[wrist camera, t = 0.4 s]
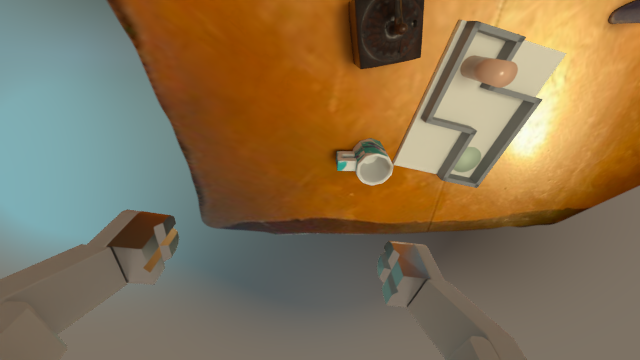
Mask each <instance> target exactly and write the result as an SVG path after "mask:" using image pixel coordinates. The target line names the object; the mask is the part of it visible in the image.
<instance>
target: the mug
mask: <svg viewBox="0 0 640 360" xmlns="http://www.w3.org/2000/svg"><path fill="white" fill-rule="evenodd" d="M336 164H337V171H356V174H357V176H358V177H359V179H360V180H361V182H362V183H365V184H369V185H376V184H381V183H384V182H385V181H386V180H387V179H388V178H389V177H390V176H391V175H392V170H393V166H394V165H393V164H392V162H391V160H390V158H389V156H388V155H387V153H386V151H385V149H384V148H383V146H382V144H381V142H380V141H377V140H374V139H372V138H369V139H365V140H362V141H360V142H359V143H358V144H357V145H356V146H355V147H354V148H353V151H337V153H336Z"/></svg>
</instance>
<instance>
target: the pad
mask: <svg viewBox="0 0 640 360" xmlns="http://www.w3.org/2000/svg"><path fill="white" fill-rule="evenodd" d="M480 159H481V152H480V151H479V150H478V149H477V148H475V147H467V148H466V150H465V151H464V153H463V154H462V156H461V157H460V159H459V161H458V162H457V164H456V165H455V167H454V168H453V169H454V170H455V171H457V172H467V171H469V170H471V169H473V168H474V167H476V166H477V165H478V163H479V162H480Z"/></svg>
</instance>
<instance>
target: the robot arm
mask: <svg viewBox="0 0 640 360" xmlns="http://www.w3.org/2000/svg"><path fill="white" fill-rule="evenodd" d="M175 224H176V222H175V218H174V216H171V215H164V214H157V213H150V212H143V211H134V210H125V211H122V212H121V213H120V214H119V215H118V216H117V217H116V218H115V219H114V220H112V221H111V223H109V224H108V225H107V226H106V227H105V228H104V229H103V230H102V231H101V232H100V233H99V234H97V236H95V237H94V238H93V239H92V240H91V241H90V242H89V243H88V244H87V245H83V244H81V245H79V246H76V247H74V248H72V249H69V250H67V251H65V252H62V253H60V254H58V255H56V256H53V257H51V258H49V259H46V260H44V261H42V262H40V263H37V264H35V265H32V266H30V267H28V268H26V269H23V270H21V271H19V272H16V273H14V274H12V275H9V276H7V277H5V278H2V279H0V360H60V359H61V357H62V356H63V355H64V353H65V352H66V351H67V345H66V344H65V343H64V341H63V340H62V339H61V338H60V337H59V336H58V334H59V333H60V332H62V331H63V330H65V329H66V328H67V327H69V326H70V325H71V324H73V323H74V322H76V321H77V320H78V319H80V318H81V317H83V316H84V315H85V314H87V313H88V312H90V311H91V310H92V309H94V308H95V307H97V306H98V305H99V304H100V303H102V302H104V301H105V300H106V299H108V298H109V297H110V296H112V295H113V294H115V293H116V292H118V291H119V290H120V289H122V288H123V287H124V286H126V285H127V283H134V284H150V285H154V284H155V283H156V281H157V280H158V278H159V276H160V275H161V273H162V272H163V270H164V269H165V266H164V262H165V261H166V260H168V259H170V258H171V257H172V256H173V254H174V253H175V251H176V248H177V245H178V240H179V236H178V232H177V231H176V230H175V229H174V228H173V227H174V225H175ZM384 249H385V252H384V253H382V254H380V257H379V259H378V265H377V269H378V276H379V278H380V279H381V281H382V282H383V283H384V285H383V287H382V292H383V296H384V299H385V303H386V305H389V306H398V307H407V310H408V311H409V312H410V314H411V315H412V316H413V317H414V319H415V320H416V321H417V323H418V324H419V325H420V327H421V328H422V329H423V331H424V332H425V333H426V334H427V336H428V337H429V338H430V340H431V341H432V342H433V344H434V345H435V346H436V348H437V349H438V350H439V352H440V353H441V354H442V356H443V357H444V358H445V360H527V359H526V357H525V356H524V354H523V352H522V351H521V349H520V348H519V346H518V345H517V343H516V341H515V340H514V338H513V337H511V336H510V335H509V334H508V333H507V332H506V331H505V330H503V329H502V328H501V327H500V326H499V325H497V323H495V322H494V321H493V320H492V319H491V318H490V317H489V316H487V315H486V314H485V313H484V312H483V311H482V310H480V309H479V308H478V307H477V306H476V305H475V304H473V303H472V302H471V301H470V300H469V299H468V298H467V297H465V296H464V295H463V294H462V293H461V292H460V291H459V290H458V289H456V288H455V287H454V286H453V285H452V284H451V283H450V282H447V281H445V280H444V279H443V276H442V275H441V273H440V271H439V269H438V267H437V265H436V263H435V261H434V259H433V257H432V255H431V253H430V251H429V249H428V247H426V246H425V245H421V244H411V243H403V242H394V241H388V242H387V243H386V244H385V246H384Z"/></svg>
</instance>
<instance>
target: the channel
mask: <svg viewBox="0 0 640 360" xmlns="http://www.w3.org/2000/svg"><path fill="white" fill-rule="evenodd" d="M525 38H526V37H524V36H521V35H518V34H515V33H512V32H509V31H506V30H503V29H500V28H497V27H494V26H491V25H488V24H484V23H481V22H478V21H464V20H459V21H458V23H457V25H456V27H455V30H454V32H453V34H452V36H451V38H450V40H449V42H448V44H447V47H446V49H445V51H444V53H443V55H442V57H441V59H440V62H439V64H438V66H437V68H436V70H435V72H434V74H433V77H432V79H431V81H430V83H429V85H428V87H427V89H426V92H425V94H424V96H423V98H422V100H421V102H420V104H419V107H418V109H417V111H416V113H415V115H414V117H413V119H412V122H411V124H410V126H409V128H408V130H407V132H406V134H405V136H404V139H403V141H402V143H401V145H400V147H399V149H398V151H397V154H396V156H395V158H394V160H393V162H392V163H393V164H394V165H397V166H402V167H406V168H411V169H416V170H420V171H425V172H429V173H434V174H437V175H438V176H439V178H440V179H441V180H443V181H447V182H452V183H457V184H461V185H466V186H471V187H475V188H477V187H478V186H479V185H480V183H481V182H482V181H483V179H484V178H485V177H486V175H487V174H488V173H489V171H490V170H491V168H492V167H493V166H494V164H495V163H496V162H497V160H498V159H499V158H500V156H501V155H502V154H503V152H504V151H505V150H506V148H507V147H508V146H509V144H510V143H511V141H512V140H513V139H514V137H515V136H516V135H517V133H518V132H519V131H520V129H521V128H522V127H523V125H524V124H525V123H526V121H527V120H528V119H529V117H530V116H531V114H532V113H533V112H534V110H535V109H536V108H537V106H538V105H539V104H540V102H541V101H542V99H539V98H536V95H537V94H538V92H539V91H540V90H541V88H542V87H543V85H544V84H545V83H546V81H547V80H548V79H549V77H550V76H551V74H552V73H553V72H554V70H555V69H556V67H557V66H558V65H559V63H560V62H561V60H562V59H563V58H564V56H565V55H566V53H563V52H560V51H557V50H554V49H551V48H547V47H544V46H541V45H538V44H535V43H532V42H529V41H526V40H524V39H525ZM473 55H476V56H482V57H488V58H494V59H500V60H506V61H512V62H514V63H516V65H517V67H518V72H517V75H516V77H515V79H514V80H513V81H512V82H511V83H510V84H509V85H507V86H505V87H502V88H497V87H494V86H491V85H488V84H485V83H482V82H479V81H475V80H472V79H469V78H466V77H464V76H462V75H461V72H460V68H461V65H462V63H463V62H464V60H465V59H466V58H468V57H470V56H473ZM467 147H475V148H477V149H478V150H479V151H480V152H481V159H480V162H479V163H478V165H477V166H476V167H474V168H473V169H471V170H469V171H467V172H457V171H455V170H454V169H453V168H454V167H455V165H456V164H457V162H458V161H459V159H460V157H461V156H462V154H463V153H464V151H465V150H466V148H467Z"/></svg>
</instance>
